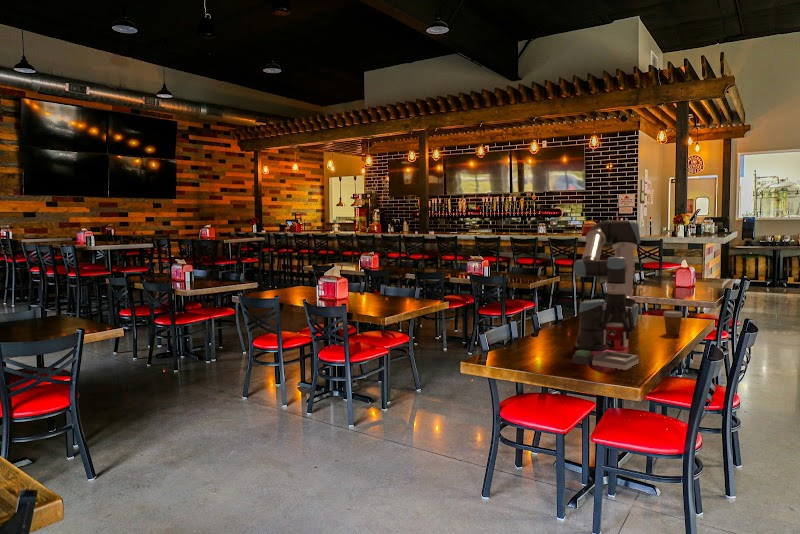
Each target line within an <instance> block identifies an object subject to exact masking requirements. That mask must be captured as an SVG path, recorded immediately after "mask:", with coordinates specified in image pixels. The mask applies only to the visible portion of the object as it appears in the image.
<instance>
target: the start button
mask: <svg viewBox="0 0 800 534" xmlns="http://www.w3.org/2000/svg"><path fill="white" fill-rule="evenodd" d="M574 354H575V355H577V356H584V357H587V356H590V355H591V354H592V350H584V349H579V350H576V351H575V353H574Z"/></svg>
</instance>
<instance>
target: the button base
mask: <svg viewBox="0 0 800 534" xmlns="http://www.w3.org/2000/svg"><path fill="white" fill-rule="evenodd" d="M593 357H594V354H593V353H591V355H590V356H587V357H584V356H577V355H575V353H574V354H573V355H572V361H571V363H572V364H574V365H575V364H576V365H581V364H583V365H582V366H589V365H592V360H593ZM588 364H589V365H588Z"/></svg>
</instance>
